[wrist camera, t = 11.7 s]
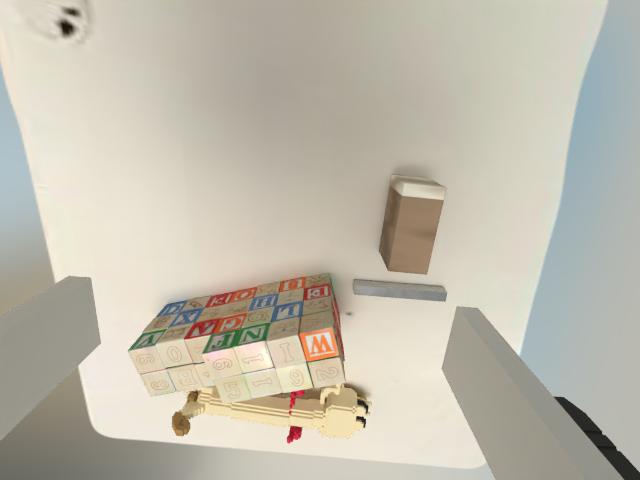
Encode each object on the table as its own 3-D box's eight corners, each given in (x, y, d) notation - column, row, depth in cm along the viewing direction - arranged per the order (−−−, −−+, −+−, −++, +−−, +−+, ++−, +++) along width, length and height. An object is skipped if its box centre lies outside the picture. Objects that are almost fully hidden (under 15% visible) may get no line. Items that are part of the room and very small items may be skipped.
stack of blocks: (183, 344, 44) (133, 421, 33) (166, 303, 42) (106, 370, 31) (340, 314, 43) (347, 385, 31) (330, 271, 41) (333, 328, 29)
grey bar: (354, 279, 41) (355, 285, 39) (442, 286, 41) (447, 292, 40) (352, 288, 41) (354, 294, 40) (440, 295, 41) (445, 301, 40)
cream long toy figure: (197, 405, 49) (365, 429, 48) (166, 461, 41) (368, 492, 40) (194, 349, 46) (375, 373, 45) (160, 397, 38) (379, 429, 36)
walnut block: (378, 250, 40) (391, 174, 37) (412, 253, 40) (427, 178, 37) (388, 270, 34) (404, 183, 31) (426, 274, 34) (446, 187, 31)
